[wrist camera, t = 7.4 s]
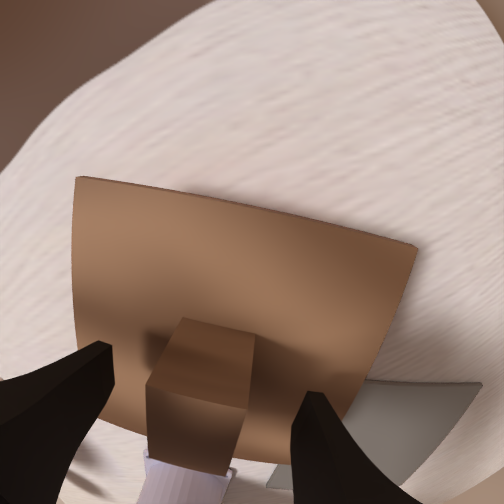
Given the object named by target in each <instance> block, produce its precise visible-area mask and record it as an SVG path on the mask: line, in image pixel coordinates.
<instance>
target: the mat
mask: <svg viewBox="0 0 504 504" xmlns="http://www.w3.org/2000/svg"><path fill="white" fill-rule="evenodd" d="M482 386H483V385H482V383H406V382H387V381H373V380H364V382H363V384H362V386H361V388H360V390H359V392H358V393H357V395H356V397H355V399H354V401H353V403H352V404H351V406H350V408H349V410H348V411H347V413H346V415H345V416H344V418H343V420H342V423H343V424H344V426H345V427H346V429H347V430H348V432H349V433H350V435H351V436H352V438H353V439H354V440H355V442H356V443H357V444H358V446H359V447H360V448H361V449H362V451H363V452H364V453H365V454H366V456H367V457H368V458H369V459H370V460H371V461H372V462H373V463H374V464H375V465H376V466H377V467H378V469H379V470H380V471H381V472H382V473H383V474H384V475H386V476H387V477H388V478H389V479H390V480H391V481H392V482H393V483H395V484H396V485H397V486H400V485H402V484H403V483H404V482H405V481H406V480H407V479H408V478H409V477H410V476H411V475H412V474H413V473H414V472H415V471H416V470H417V469H418V468H419V467H420V466H421V465H422V464H423V463H424V462H425V461H426V459H427V458H428V457H429V456H430V455H431V454H432V453H433V452H434V450H435V449H436V448H437V447H438V446H439V445H440V443H441V442H442V441H443V440H444V439H445V437H446V436H447V435H448V434H449V432H450V431H451V430H452V429H453V427H454V426H455V425H456V423H457V422H458V421H459V419H460V418H461V417H462V415H463V414H464V413H465V411H466V410H467V408H468V407H469V406H470V404H471V403H472V401H473V400H474V398H475V397H476V395H477V394H478V392H479V391H480V389H481V388H482ZM266 488H274V489H287V490H293V482H292V469H291V465H284V464H278V465H277V467H276V468H275V470H274V472H273V474H272V476H271V477H270V479H269V481H268V482H267V484H266Z"/></svg>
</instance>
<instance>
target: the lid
mask: <svg viewBox="0 0 504 504" xmlns="http://www.w3.org/2000/svg"><path fill="white" fill-rule="evenodd" d="M417 251H418V248H416V247H415V246H413V245H412V244H408V243H404V242H401V241H397V240H393V239H390V238H386V237H382V236H378V235H375V234H371V233H367V232H363V231H359V230H355V229H351V228H347V227H343V226H339V225H335V224H331V223H327V222H323V221H319V220H314V219H310V218H306V217H301V216H297V215H293V214H288V213H284V212H279V211H275V210H270V209H266V208H261V207H256V206H252V205H247V204H242V203H237V202H232V201H227V200H222V199H217V198H212V197H207V196H202V195H197V194H191V193H186V192H180V191H175V190H169V189H164V188H158V187H152V186H146V185H140V184H134V183H128V182H121V181H115V180H108V179H102V178H95V177H88V176H79V177H76V179H75V189H74V201H73V217H72V253H71V257H72V293H73V308H74V320H75V330H76V339H77V347H78V350H80V349H82V348H84V347H86V346H87V345H89V344H91V343H93V342H96V341H98V340H100V341H102V342H105V343H108V344H111V345H112V348H113V364H114V376H115V386H114V388H113V390H112V393H111V395H110V397H109V399H108V401H107V403H106V405H105V407H104V408H103V410H102V411H101V413H100V414H99V416H98V418H99V419H101V420H104V421H106V422H109V423H111V424H114V425H116V426H119V427H122V428H124V429H127V430H130V431H133V432H136V433H139V434H142V435H145V436H147V441H148V455H149V458H151V459H154V460H157V461H161V462H164V463H168V464H171V465H175V466H179V467H182V468H186V469H190V470H195V471H199V472H203V473H208V474H213V475H218V476H223V477H226V474H227V472H228V469H229V466H230V463H231V460H232V458H238V459H244V460H251V461H258V462H265V463H274V464H284V465H291V456H290V438H291V425H292V423H293V421H294V419H295V417H296V415H297V413H298V410H299V408H300V406H301V404H302V402H303V399H304V397H305V395H306V392H307V391H314V392H323V393H324V394H325V396H326V397H327V399H328V401H329V402H330V404H331V406H332V407H333V409H334V410H335V412H336V414H337V415H338V417H339V418H340V420H341V421H342V420H343V418H344V416H345V415H346V413H347V411H348V410H349V408H350V406H351V404H352V403H353V401H354V399H355V397H356V395H357V393H358V392H359V390H360V388H361V386H362V384H363V382H364V380H365V378H366V376H367V374H368V372H369V370H370V368H371V366H372V364H373V362H374V360H375V358H376V356H377V354H378V352H379V350H380V347H381V345H382V343H383V341H384V339H385V336H386V334H387V332H388V329H389V327H390V325H391V322H392V320H393V318H394V315H395V313H396V310H397V308H398V305H399V303H400V300H401V297H402V295H403V292H404V289H405V287H406V284H407V281H408V278H409V275H410V273H411V270H412V267H413V264H414V261H415V258H416V255H417Z"/></svg>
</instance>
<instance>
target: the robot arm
mask: <svg viewBox="0 0 504 504" xmlns="http://www.w3.org/2000/svg"><path fill="white" fill-rule="evenodd" d="M114 386H115V376H114V364H113V348H112V345H111V344H108V343H105V342H102V341H100V340H98V341H96V342H93V343H91V344H89V345H87V346H86V347H84V348H82V349H80V350H78V351H76V352H74V353H72V354H70V355H68V356H66V357H64V358H62V359H60V360H58V361H56V362H54V363H51V364H49V365H47V366H45V367H42V368H40V369H38V370H35V371H33V372H30V373H27V374H25V375H22V376H18V377H15V378H12V379H8V380H4V381H0V504H56V502H57V499H58V495H59V492H60V489H61V486H62V484H63V481H64V479H65V476H66V473H67V471H68V469H69V466H70V464H71V462H72V460H73V457H74V455H75V453H76V451H77V449H78V447H79V446H80V444H81V442H82V441H83V439H84V438H85V436H86V434H87V433H88V431H89V430H90V428H91V427H92V425H93V424H94V422H95V421H96V419H97V418H98V416H99V414H100V413H101V411H102V410H103V408H104V407H105V405H106V403H107V401H108V399H109V397H110V395H111V393H112V390H113V388H114ZM143 454H144V463H145V471H146V479H145V482H144V485H143V487H142V490H141V493H140V495H139V498H138V501H137V504H221V503H222V500H223V498H224V495H225V493H226V490H227V487H228V485H229V482H230V479H231V477H232V473H233V472H232V470H230V469H228V472H227V474H226V477H223V476H218V475H213V474H208V473H203V472H199V471H195V470H190V469H186V468H182V467H179V466H175V465H171V464H168V463H164V462H161V461H157V460H154V459H151V458H149V455H148V449H145V450H144V452H143ZM290 456H291V469H292V482H293V494H294V504H422V503H421V502H419V501H418V500H416V499H414V498H413V497H411V496H410V495H409V494H407V493H406V492H405V491H403V490H402V489H401V488H399V487H398V486H397V485H396V484H395V483H393V482H392V481H391V480H390V479H389V478H388V477H387V476H386V475H384V474H383V473H382V472H381V471H380V470H379V469H378V467H377V466H376V465H375V464H374V463H373V462H372V461H371V460H370V459H369V458H368V457H367V456H366V454H365V453H364V452H363V451H362V449H361V448H360V447H359V446H358V444H357V443H356V442H355V440H354V439H353V438H352V436H351V435H350V433H349V432H348V430H347V429H346V427H345V426H344V424H343V423H342V421H341V420H340V418H339V417H338V415H337V414H336V412H335V410H334V409H333V407H332V406H331V404H330V402H329V401H328V399H327V397H326V396H325V394H324V393H323V392H314V391H307V392H306V395H305V397H304V399H303V402H302V404H301V406H300V408H299V410H298V413H297V415H296V417H295V419H294V421H293V423H292V425H291V438H290Z"/></svg>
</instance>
